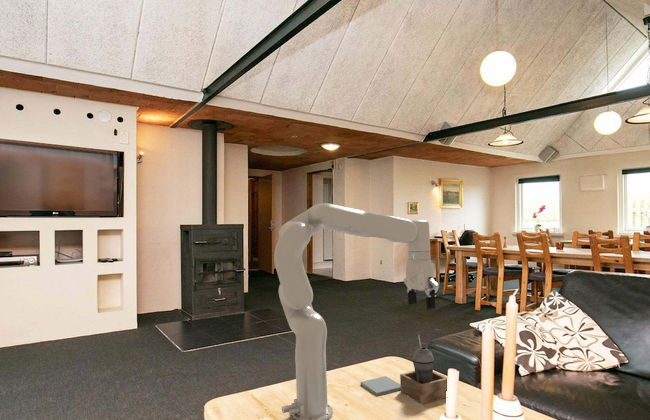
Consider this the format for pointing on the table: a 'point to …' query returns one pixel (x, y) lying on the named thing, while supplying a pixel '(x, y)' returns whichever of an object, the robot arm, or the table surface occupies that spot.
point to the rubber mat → (381, 385)
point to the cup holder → (423, 387)
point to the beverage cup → (423, 364)
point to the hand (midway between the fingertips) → (421, 306)
